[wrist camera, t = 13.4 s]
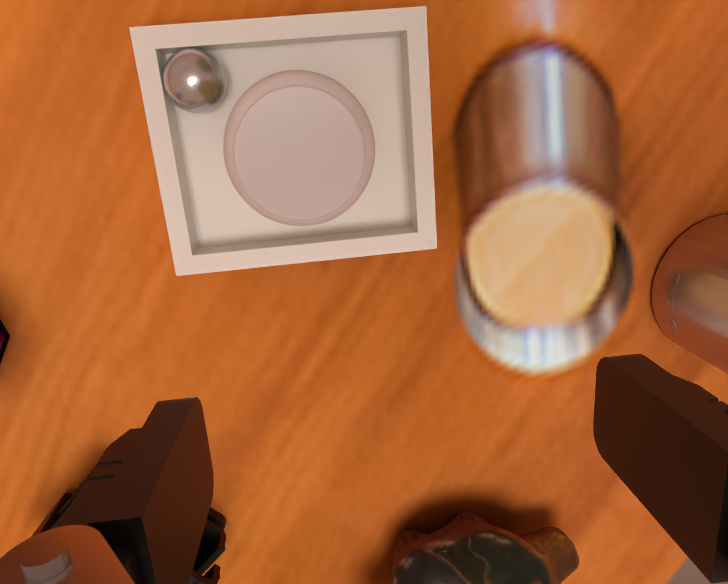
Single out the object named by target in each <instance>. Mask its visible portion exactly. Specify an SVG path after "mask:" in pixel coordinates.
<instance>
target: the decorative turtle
mask: <svg viewBox="0 0 728 584" xmlns="http://www.w3.org/2000/svg"><path fill="white" fill-rule="evenodd" d="M578 565H579V557H578V554H577V551H576V549H575V547H574V545H573V543H572V541H571V540H570V539H569V538H568V537H567V536H566V534H565V533H564V532H562V531H561V530H560V529H558V528H556V527H547V528H543V529H540V530H537V531H535V532H532V533H529V534H526V535H523V536H521V537H519V536H517V535H515V534H514V533H512V532H509V531H507V530H505V529H503V528H500V527H497V526H493V525H491V524H489V523H487V522H486V521H485V520H484V519H482V518H481V517H480V516H479V515H477V514H476V513H472V512H470V511H464V512H462V513H460V514H458V515H457V516H456V517H455V518H454V519H453V520H452V521H451V522H450V523H449V524H447V525H446V526H445V527H443V528H441V529H439V530H437V531H435V532H433V533H430V534H424V533H422V532H419V531H416V530H413V529H410V530H405V531H403V532H402V533H400V535H399V537H398V538H397V541H396V544H395V552H394V559H393V565H392V573H391V580H390V584H561V582H562V581H563V580H565V579H566V578H567V577H568V576H569V575H570V574H571V573H572V572H574V571H575V570H576V569H577V567H578Z"/></svg>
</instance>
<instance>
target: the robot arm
mask: <svg viewBox="0 0 728 584" xmlns="http://www.w3.org/2000/svg"><path fill="white" fill-rule="evenodd" d="M652 308H653V311H654V315H655V319H656V321H657V323H658V324H659V326H660V328H661V330H662V331H663V332H664V333H665V334H666V335H667V336H668V337H669V338H670V339H671V340H672V341H674V342H676V343H677V344H679V345H681V346H682V347H684V348H686V349H687V350H689V351H691V352H692V353H694V354H696V355H697V356H699V357H701V358H702V359H704V360H706V361H707V362H709V363H710V364H712V365H714V366H715V367H717V368H718V369H720V370H722V371H723V372H725V373H727V374H728V214H722V215H718V216H715V217H712V218H708V219H706V220H704V221H702V222H700V223H698V224H696V225H694V226H692V227H691V228H690V229H689V230H687V231H686V232H685V233H684V234H682V235H681V236H680V237H679V238H678V239H677V240H676V241H675V242H674V243H673V245H672V246H671V247H670V248H669V249H668V251H667V252H666V254H665V255H664V257H663V259H662V260H661V262H660V264H659V267H658V269H657V272H656V274H655V277H654V282H653V288H652ZM593 430H594V438H595V442H596V445H597V448H598V451H599V453H600V455H601V456H602V458H603V459H604V460H605V461H606V463H607V464H608V465H609V466H610V467H611V468H612V470H613V471H614V472H615V473H616V474H617V475H618V476H619V478H620V479H621V480H622V481H623V482H624V483H625V484H626V486H627V487H628V488H629V489H630V490H631V491H632V493H633V494H634V495H635V496H636V497H637V498H638V499H639V501H640V502H641V503H642V504H643V505H644V506H645V508H646V509H647V510H648V511H649V512H650V513H651V514H652V516H653V517H654V518H655V519H656V520H657V521H658V523H659V524H660V525H661V526H662V527H663V528H664V529H665V531H666V532H667V533H668V534H669V535H670V536H671V538H672V539H673V540H674V541H675V542H676V543H677V544H678V546H679V547H680V548H681V549H682V550H683V551H684V553H685V554H686V555H687V556H688V557H689V558H690V559H691V560H692V562H693V563H694V564H695V565H696V566H697V568H698V569H699V570H700V571H701V572H702V573H703V574H704V575H705V577H706V578H707V579H708V580H709V581H710V582H711V583H718V582H726V581H728V405H727V404H725V403H724V402H722V401H720V402H719V401H718V398H717V397H715V396H714V395H712V394H711V393H709V392H708V391H706V390H705V389H703V388H702V387H700V386H699V385H697V384H694V383H691V382H689V381H686V380H684V379H681V378H679V377H676V376H673V375H671V374H670V373H669V372H667V371H666V370H664V369H663V368H661V367H660V366H658V365H657V364H656V363H654V362H653V361H651V360H650V359H648V358H647V357H646V356H644V355H642V354H633V355H623V356H613V357H604V358H602V359H601V360H600V361H599V363H598V365H597V371H596V388H595V406H594V424H593ZM212 497H213V468H212V461H211V456H210V450H209V444H208V438H207V432H206V426H205V420H204V414H203V409H202V405H201V402H200V400H199V398H197V397H195V398H185V399H175V400H165V401H158V402H157V403H156V405H155V406H154V408H153V410H152V411H151V413H150V415H149V417H148V418H147V420H146V422H145V424H144V425H143V427H142V428H138V429H130V430H129V431H127V432H126V433H125V434H123V435H122V436H121V437H119V438H118V439H117V440H116V441H114V442H113V443H112V444H110V445H109V447H108V448H107V450H106V451H105V453H104V454H103V456H102V457H101V459H100V460H99V462H98V466H97V467H95V468H94V470H93V471H92V473H91V474H90V476H89V477H88V482H85V484H84V485H83V487H82V488H81V490H80V491H79V493H78V494H77V496H76V498H75V499H74V501H73V502H72V504H71V505H70V507H69V508H68V510H67V511H66V513H65V515H64V516H63V518H62V519H61V521H60V522H59V524H58V525H57V527H56V528H53V529H50V530H47V531H44V532H42V533H39V534H37V535H34V536H32V537H30V538H28V539H27V540H25V541H23V542H21V543H20V544H18V545H16V546H15V547H14V548H12V549H11V550H10V551H8V552H7V553H6V554H5V555H4V556H3V557H1V558H0V584H189V581H190V578H191V574H192V570H193V567H194V563H195V560H196V556H197V552H198V549H199V545H200V541H201V538H202V534H203V531H204V527H205V523H206V520H207V516H208V513H209V509H210V505H211V502H212Z"/></svg>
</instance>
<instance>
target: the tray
mask: <svg viewBox="0 0 728 584" xmlns="http://www.w3.org/2000/svg"><path fill="white" fill-rule="evenodd" d="M129 29H130V35H131V40H132V45H133V50H134V56H135V61H136V66H137V72H138V77H139V82H140V87H141V93H142V98H143V103H144V109H145V114H146V119H147V124H148V130H149V135H150V140H151V145H152V151H153V156H154V161H155V167H156V172H157V177H158V182H159V188H160V193H161V198H162V203H163V209H164V214H165V219H166V225H167V230H168V235H169V240H170V246H171V251H172V256H173V262H174V267H175V272H176V276H181V275H191V274H200V273H210V272H219V271H229V270H238V269H248V268H257V267H267V266H276V265H286V264H295V263H305V262H314V261H324V260H333V259H343V258H352V257H362V256H371V255H381V254H390V253H400V252H409V251H419V250H428V249H437V235H436V213H435V191H434V168H433V146H432V123H431V101H430V79H429V56H428V34H427V11H426V6H418V7H404V8H390V9H376V10H362V11H348V12H335V13H321V14H307V15H293V16H279V17H265V18H251V19H237V20H223V21H209V22H196V23H182V24H168V25H154V26H140V27H129ZM184 48H199V49H202V50H205V51H207V52H209V53H210V54H212V55H213V56H214V57H215V58H216V59H217V60H218V61H219V62H220V64H221V66H222V67H223V69H224V72H225V75H226V80H227V88H226V93H225V96H224V98H223V100H222V101H221V102H220V104H219V105H218V106H217V107H215V108H214V109H212V110H210V111H208V112H205V113H191V112H187V111H185V110H183V109H181V108H179V107H178V106H176V105H175V104H174V103H173V102H172V101H171V100H170V98H169V97H168V95H167V93H166V91H165V88H164V85H163V69H164V66H165V64H166V62H167V60H168V59H169V58H170V56H171V55H173V54H174V53H175V52H177V51H179V50H181V49H184ZM287 70H307V71H312V72H316V73H320V74H323V75H326V76H328V77H330V78H332V79H334V80H336V81H337V82H339V83H340V84H342V85H343V86H344V87H346V88H347V89H348V90H349V91H350V92H351V93H352V94H353V95H354V96H355V97H356V98H357V100H358V101H359V102H360V104H361V105H362V107H363V108H364V110H365V112H366V114H367V116H368V118H369V121H370V123H371V126H372V130H373V134H374V140H375V160H374V165H373V170H372V174H371V177H370V180H369V182H368V184H367V186H366V188H365V190H364V192H363V193H362V195H361V196H360V197H359V199H358V200H357V201H356V202H355V203H354V204H353V205H352V206H351V207H350V208H349V209H348V210H347V211H345V212H344V213H343V214H341V215H339V216H338V217H336V218H334V219H332V220H330V221H327V222H324V223H321V224H317V225H312V226H291V225H286V224H282V223H278V222H275V221H273V220H270V219H268V218H266V217H264V216H263V215H261V214H259V213H258V212H257V211H255V210H254V209H253V208H251V207H250V206H249V205H248V204H247V203H246V202H245V201H244V200H243V198H242V197H241V196H240V195H239V193H238V192H237V190H236V189H235V187H234V186H233V184H232V182H231V180H230V177H229V175H228V172H227V169H226V165H225V160H224V153H223V143H224V133H225V127H226V124H227V120H228V118H229V115H230V113H231V111H232V109H233V107H234V105H235V104H236V102H237V101H238V99H239V98H240V97H241V96H242V94H243V93H244V92H245V91H246V90H247V89H248V88H250V87H251V86H252V85H253V84H255V83H256V82H258V81H259V80H261V79H263V78H265V77H267V76H269V75H271V74H274V73H277V72H281V71H287Z"/></svg>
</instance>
